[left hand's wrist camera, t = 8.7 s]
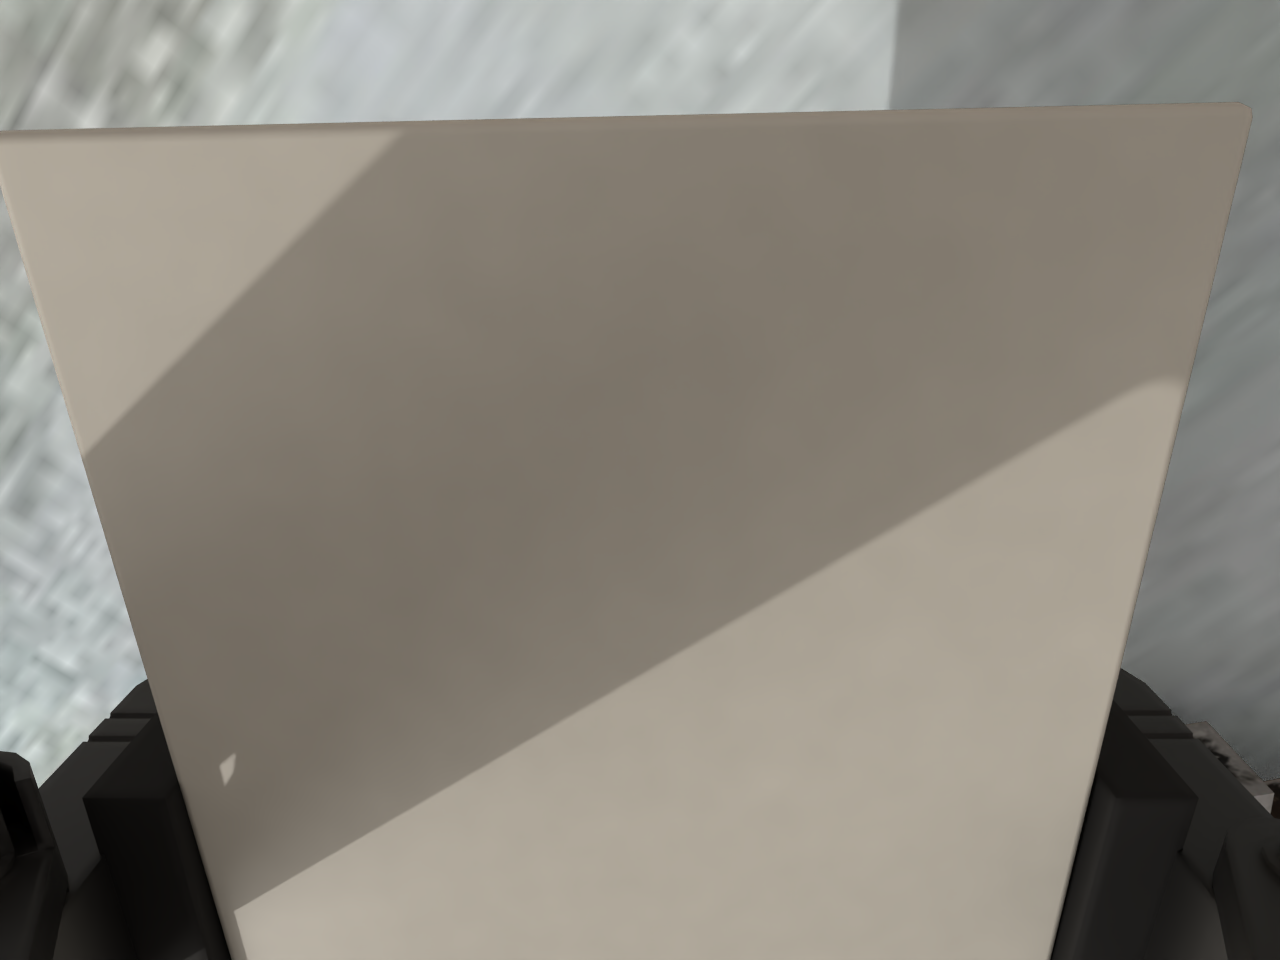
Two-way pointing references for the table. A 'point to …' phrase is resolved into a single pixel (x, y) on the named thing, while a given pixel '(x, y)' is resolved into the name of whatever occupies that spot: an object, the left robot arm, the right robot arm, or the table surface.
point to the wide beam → (632, 507)
